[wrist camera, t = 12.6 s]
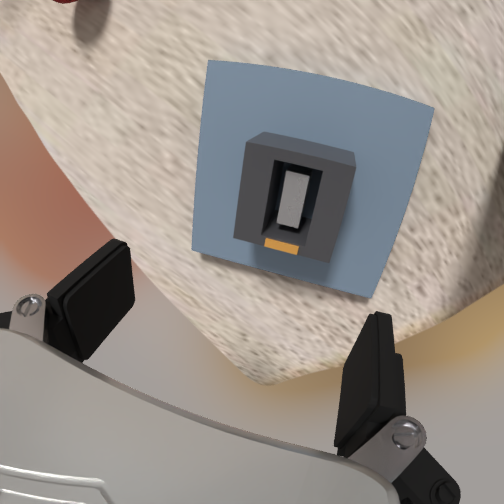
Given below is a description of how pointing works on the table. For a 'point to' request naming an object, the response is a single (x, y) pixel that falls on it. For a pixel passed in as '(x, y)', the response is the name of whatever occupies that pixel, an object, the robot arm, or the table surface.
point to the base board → (324, 132)
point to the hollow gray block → (267, 187)
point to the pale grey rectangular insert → (294, 195)
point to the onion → (65, 1)
